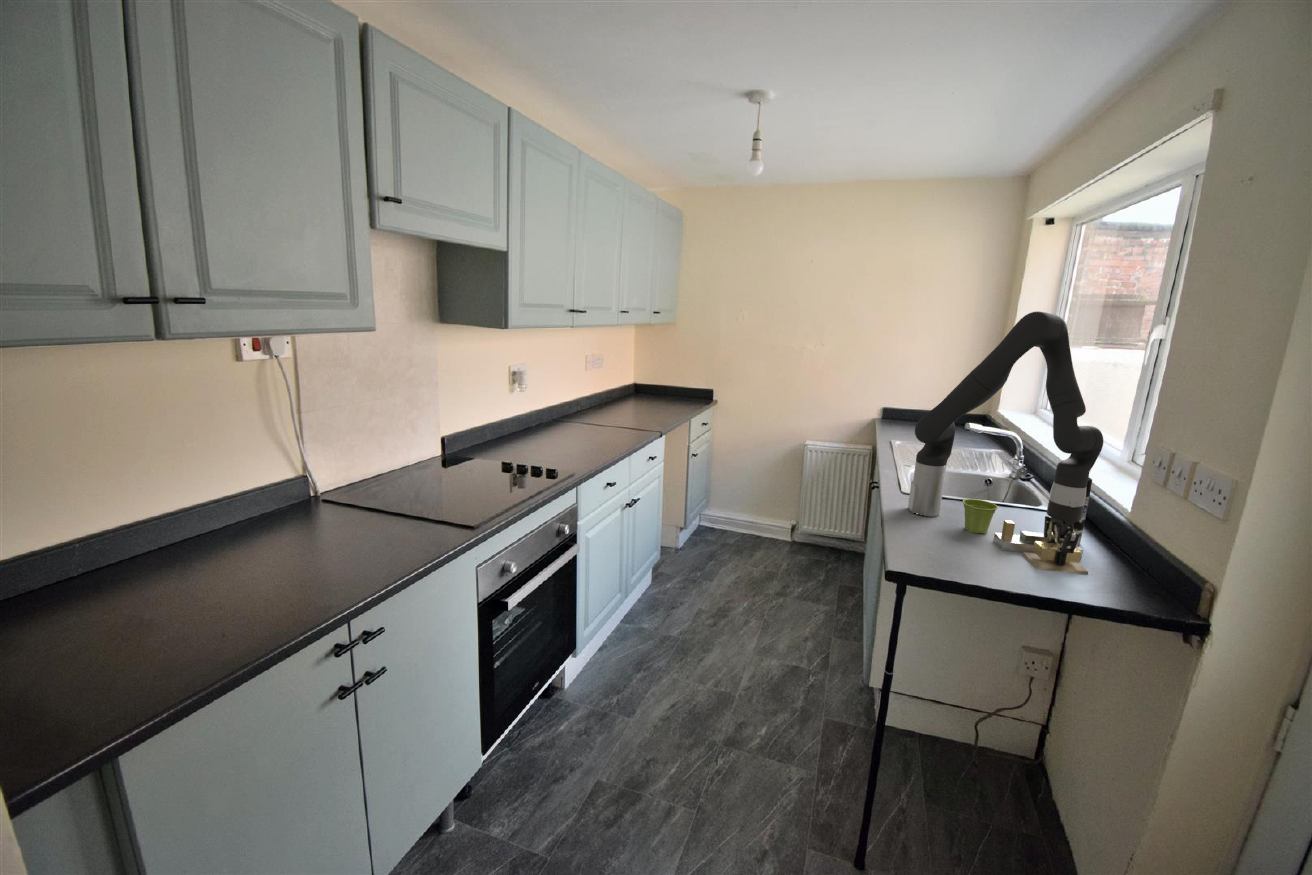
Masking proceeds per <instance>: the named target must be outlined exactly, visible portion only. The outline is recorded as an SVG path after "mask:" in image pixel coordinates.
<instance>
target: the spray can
mask: <svg viewBox="0 0 1312 875" xmlns="http://www.w3.org/2000/svg"><path fill="white" fill-rule="evenodd" d="M1092 484H1093V479H1092V478H1091V477H1089V478H1088V483H1087V488H1086V498H1085V503H1084V508H1083V513H1082V518H1081V520H1080V521H1078V522H1075V523H1074V530H1075V532H1076V534H1079V539H1078V542H1077V545H1078V546H1079V545H1081V541H1082V536H1083V532H1084V526H1085V520H1086V518H1087V516H1086V515H1087V512H1088V506H1089V501H1090V496H1091V490H1092ZM1060 539H1061V538H1060Z"/></svg>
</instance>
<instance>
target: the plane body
mask: <svg viewBox="0 0 1312 875" xmlns="http://www.w3.org/2000/svg"><path fill="white" fill-rule="evenodd" d="M1015 526H1016V523H1015V522H1014V521H1013V520H1012V519H1011V520H1010V519H1009V520H1008V519H1004V520H1003V526H1002V530H1001V532H994V535H993V540H992V541H993V542H994V543H995V544H996V545H997V546H998V547H999V549H1001V551H1005V552H1006V551H1008V552H1017V553H1019V552H1020V553H1023V552H1026V553H1034V552H1033V548H1034V543H1035V541H1039V542H1046V538H1045V537H1044V532H1039V531H1029V530H1028V531H1027V530H1020V533H1019V534H1014V530H1015ZM1073 532H1074V533H1075V534H1076V532H1075V530H1073ZM1060 540H1064V539H1060ZM1062 544H1063V543H1062ZM1075 548H1077V549H1078V550H1079V551H1080V552H1081V556H1080V559H1083V553H1084V549H1083V548H1082V547H1080V546H1079V545H1077V544H1076V547H1075Z"/></svg>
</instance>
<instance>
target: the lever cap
mask: <svg viewBox="0 0 1312 875" xmlns="http://www.w3.org/2000/svg"><path fill="white" fill-rule="evenodd" d="M1062 545H1063V544H1061V547H1062ZM1070 547H1071V546H1070ZM1033 552H1034V553H1035V554H1036V555H1037V556H1038V557H1039V558H1040V559H1046V560H1055V558H1056V553H1057V543H1049V542H1039V541H1035V543H1034V548H1033ZM1080 556H1081V552H1080V551H1079V550H1078V549H1077V548H1075V550H1074V552H1073V554H1072V553H1067V557H1066V562H1075V563H1079V564H1080V560H1081V558H1080Z"/></svg>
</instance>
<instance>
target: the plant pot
mask: <svg viewBox="0 0 1312 875" xmlns="http://www.w3.org/2000/svg"><path fill="white" fill-rule="evenodd" d="M962 503H963V508H964V529H965V530H967V531H968V532H970V533H973V534H982V535H983V534H987V533H988V530H989V527H990V525H991V522H992V519H993V517H994V514H995V512H996V511H997V509H998V508H999V507H998V505H997V504H995V503H993V502H990V501H986V500H982V499H977V498H970V499H969V498H967V499H966V498H965V499H963V500H962Z"/></svg>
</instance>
